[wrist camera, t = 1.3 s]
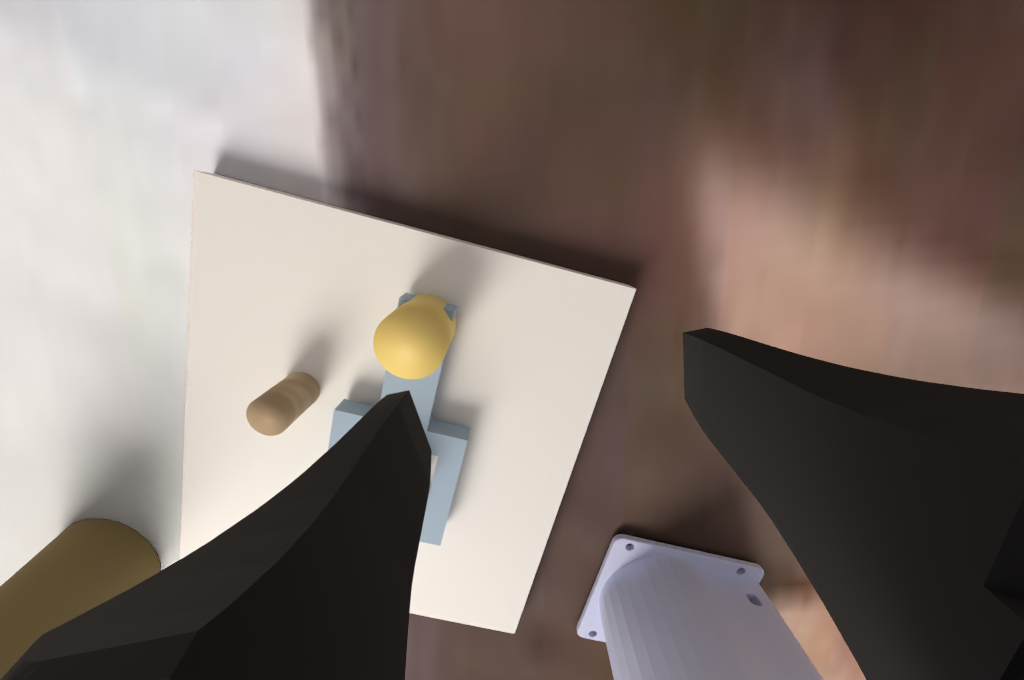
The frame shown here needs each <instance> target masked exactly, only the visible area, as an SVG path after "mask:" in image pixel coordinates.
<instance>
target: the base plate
mask: <svg viewBox="0 0 1024 680" xmlns="http://www.w3.org/2000/svg"><path fill="white" fill-rule="evenodd" d="M635 291H636V289H635V288H634V287H632V286H630V285H628V284H624V283H620V282H617V281H613V280H609V279H605V278H602V277H598V276H594V275H590V274H587V273H583V272H579V271H575V270H572V269H568V268H564V267H561V266H557V265H553V264H549V263H546V262H542V261H538V260H534V259H531V258H527V257H523V256H520V255H516V254H512V253H508V252H505V251H501V250H497V249H493V248H490V247H486V246H482V245H479V244H475V243H471V242H467V241H464V240H460V239H456V238H452V237H449V236H445V235H441V234H437V233H434V232H430V231H426V230H423V229H419V228H415V227H411V226H408V225H404V224H400V223H396V222H393V221H389V220H385V219H382V218H378V217H374V216H370V215H367V214H363V213H359V212H355V211H352V210H348V209H344V208H340V207H337V206H333V205H329V204H326V203H322V202H318V201H314V200H311V199H307V198H303V197H299V196H296V195H292V194H288V193H285V192H281V191H277V190H273V189H270V188H266V187H262V186H258V185H255V184H251V183H247V182H243V181H240V180H236V179H232V178H229V177H225V176H221V175H217V174H214V173H207V172H200V171H194V173H193V201H192V229H191V257H190V285H189V313H188V341H187V369H186V397H185V425H184V454H183V482H182V510H181V538H180V559H182V558H184V557H185V556H187V555H188V554H190V553H192V552H193V551H195V550H197V549H198V548H200V547H201V546H203V545H205V544H206V543H208V542H209V541H211V540H212V539H214V538H215V537H217V536H218V535H220V534H221V533H223V532H224V531H226V530H227V529H229V528H230V527H231V526H233V525H234V524H236V523H237V522H239V521H240V520H242V519H243V518H245V517H246V516H248V515H249V514H250V513H252V512H253V511H255V510H256V509H258V508H259V507H260V506H262V505H263V504H264V503H266V502H267V501H268V500H270V499H271V498H272V497H274V496H275V495H276V494H277V493H279V492H280V491H281V490H283V489H284V488H285V487H287V486H288V485H289V484H290V483H291V482H293V481H294V480H295V479H296V478H298V477H299V476H300V475H301V474H302V473H303V472H305V471H306V470H307V469H308V468H309V467H310V466H311V465H312V464H313V463H315V462H316V461H317V460H318V459H319V458H320V457H321V456H322V455H323V454H324V453H326V452H327V451H328V446H329V440H330V433H331V427H332V420H333V413H334V409H335V408H336V407H337V406H338V405H339V404H340V403H341V402H342V400H343V399H347V400H352V401H356V402H360V403H364V404H369V405H373V406H374V405H375V404H377V403H378V402H379V401H380V399H381V393H382V388H383V382H384V377H385V372H386V369H385V368H384V367H383V366H382V365H381V364H380V362H379V361H378V359H377V357H376V355H375V352H374V347H373V338H374V333H375V331H376V328H377V327H378V325H379V324H380V322H381V321H382V320H383V319H384V318H386V317H387V316H388V315H389V314H390V313H392V312H393V311H394V310H395V309H397V307H398V302H399V298H400V297H401V296H402V295H404V294H405V293H410V294H413V295H420V294H430V295H434V296H437V297H439V298H441V299H443V300H444V301H445V302H447V303H449V304H453V305H456V306H457V310H456V315H455V316H456V321H457V329H456V333H455V336H454V338H453V340H452V342H451V344H450V346H449V348H448V350H447V354H446V358H445V363H444V367H443V371H442V376H441V380H440V384H439V389H438V393H437V398H436V402H435V406H434V411H433V415H432V419H433V420H437V421H441V422H446V423H450V424H454V425H458V426H463V427H467V428H470V433H469V438H468V442H467V446H466V450H465V454H464V458H463V461H462V465H461V469H460V473H459V477H458V480H457V484H456V488H455V492H454V496H453V500H452V503H451V507H450V511H449V515H448V519H447V522H446V526H445V530H444V534H443V538H442V542H441V545H440V546H438V545H434V544H429V543H424V542H419V547H418V553H417V558H416V563H415V568H414V575H413V582H412V590H411V601H410V612H409V613H412V614H417V615H422V616H427V617H432V618H437V619H442V620H447V621H452V622H458V623H463V624H468V625H473V626H478V627H483V628H488V629H493V630H498V631H503V632H508V633H513V634H514V633H515V631H516V628H517V625H518V622H519V619H520V616H521V614H522V611H523V608H524V605H525V602H526V599H527V597H528V594H529V591H530V588H531V585H532V582H533V580H534V577H535V574H536V571H537V568H538V566H539V563H540V560H541V557H542V554H543V551H544V549H545V546H546V543H547V540H548V537H549V534H550V532H551V529H552V526H553V523H554V520H555V517H556V515H557V512H558V509H559V506H560V503H561V500H562V498H563V495H564V492H565V489H566V486H567V484H568V481H569V478H570V475H571V472H572V469H573V467H574V464H575V461H576V458H577V455H578V452H579V450H580V447H581V444H582V441H583V438H584V435H585V433H586V430H587V427H588V424H589V421H590V418H591V416H592V413H593V410H594V407H595V404H596V402H597V399H598V396H599V393H600V390H601V387H602V385H603V382H604V379H605V376H606V373H607V370H608V368H609V365H610V362H611V359H612V356H613V353H614V351H615V348H616V345H617V342H618V339H619V336H620V334H621V331H622V328H623V325H624V322H625V319H626V317H627V314H628V311H629V308H630V305H631V303H632V300H633V297H634V294H635ZM295 372H304V373H307V374H309V375H311V376H312V377H313V378H314V379H315V380H316V381H317V382H318V384H319V387H320V395H319V397H318V399H317V400H316V401H315V402H314V403H313V404H312V405H311V406H310V407H309V408H308V409H307V410H306V411H305V412H304V413H303V414H302V415H300V416H299V417H298V418H297V419H296V420H295V421H294V422H293V423H292V424H291V425H290V426H289V427H288V428H287V429H286V430H285V431H284V432H282V433H281V434H278V435H275V436H268V435H263V434H261V433H259V432H257V431H256V430H254V429H253V428H252V427H251V426H250V424H249V422H248V420H247V417H246V410H247V407H248V405H249V404H250V403H251V402H252V401H254V400H255V399H256V398H258V397H259V396H261V395H262V394H263V393H265V392H266V391H268V390H269V389H270V388H272V387H273V386H275V385H276V384H277V383H279V382H280V381H281V380H283V379H284V378H286V377H287V376H288V375H290V374H292V373H295ZM437 459H438V456H434V455H431V478H430V488H431V484H432V480H433V476H434V472H435V467H436V463H437ZM430 488H429V492H430ZM428 496H429V494H428ZM427 501H428V500H427Z"/></svg>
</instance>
